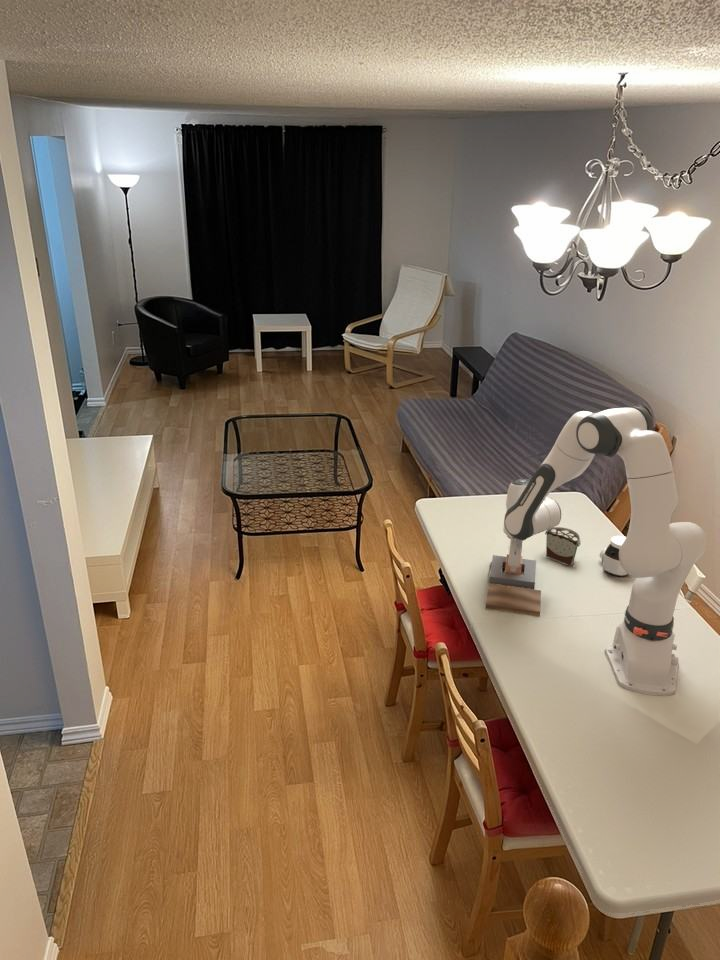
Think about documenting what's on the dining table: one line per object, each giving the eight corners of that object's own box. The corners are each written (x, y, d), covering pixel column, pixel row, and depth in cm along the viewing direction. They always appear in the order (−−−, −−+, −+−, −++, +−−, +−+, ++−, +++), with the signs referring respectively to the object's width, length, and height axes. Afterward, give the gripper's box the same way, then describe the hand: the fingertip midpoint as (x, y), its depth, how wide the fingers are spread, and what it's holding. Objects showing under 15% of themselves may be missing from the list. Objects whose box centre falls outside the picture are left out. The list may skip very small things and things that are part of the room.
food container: (584, 561, 246) (588, 534, 242) (575, 568, 242) (579, 541, 238) (551, 548, 254) (554, 522, 250) (542, 555, 250) (545, 528, 246)
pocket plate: (534, 589, 230) (535, 582, 229) (489, 583, 233) (489, 576, 232) (535, 567, 242) (536, 560, 241) (492, 561, 245) (492, 555, 244)
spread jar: (618, 582, 235) (624, 550, 230) (587, 568, 242) (592, 537, 238) (638, 569, 242) (644, 538, 237) (607, 556, 250) (613, 525, 245)
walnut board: (539, 616, 217) (540, 611, 216) (485, 608, 220) (485, 604, 219) (540, 594, 227) (541, 590, 227) (488, 587, 231) (488, 583, 230)
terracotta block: (520, 580, 235) (521, 563, 233) (504, 578, 236) (505, 561, 234) (520, 572, 239) (522, 556, 237) (505, 570, 240) (506, 554, 238)
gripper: (527, 543, 221) (522, 583, 226) (529, 514, 239) (524, 551, 245) (505, 541, 222) (501, 580, 228) (509, 512, 240) (505, 549, 246)
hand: (513, 565), depth 236 cm, fingers closed on terracotta block, 5 cm apart
